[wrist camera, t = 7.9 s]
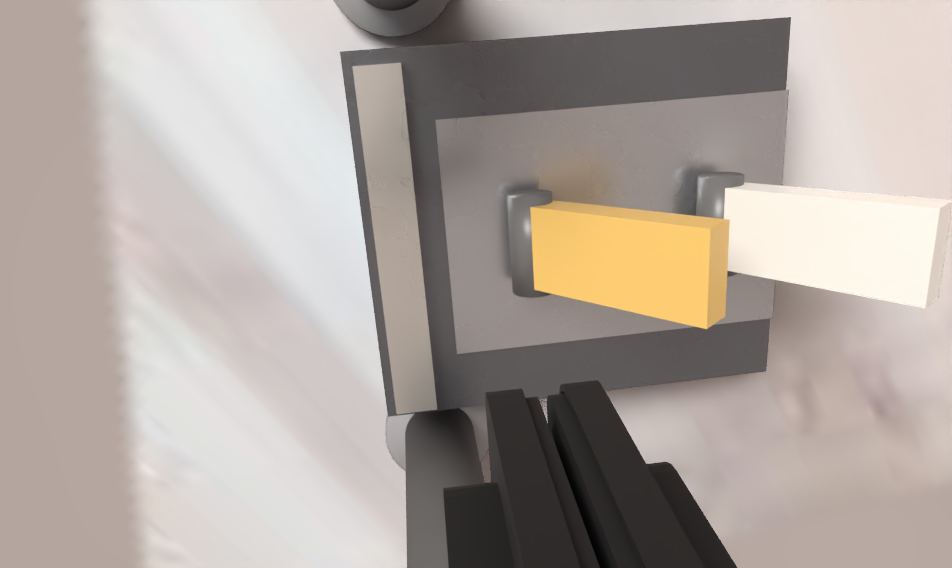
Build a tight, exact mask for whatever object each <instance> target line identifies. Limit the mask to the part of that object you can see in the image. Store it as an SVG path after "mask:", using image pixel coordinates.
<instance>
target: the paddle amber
mask: <svg viewBox="0 0 952 568" xmlns="http://www.w3.org/2000/svg"><path fill="white" fill-rule="evenodd" d="M507 209H508V226H509V242H510V259H511V275H512V292H513V294H515V295H517V296H520V297H526V298H537V297H544V296H548V295H551V294H555V295H560V296H564V297H568V298H573V299H577V300H581V301H586V302H590V303H594V304H599V305H603V306H608V307H612V308H616V309H621V310H625V311H629V312H634V313H638V314H642V315H647V316H651V317H656V318H660V319H664V320H669V321H673V322H677V323H682V324H686V325H690V326H695V327H699V328H704V329H708V328H709V327H711V326H712V325H714V324H715V323H716V322H718V321H719V320H721V319H722V318H724V317H725V311H726V290H727V269H728V247H729V226H730V220H729V219H719V218H710V217H701V216H692V215H683V214H673V213H664V212H655V211H646V210H637V209H628V208H618V207H609V206H600V205H591V204H582V203H573V202H563V201H554V200H552V192H551V191H549V190H540V189H531V190H520V191H515V192H511V193H509V194H507Z"/></svg>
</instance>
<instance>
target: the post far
mask: <svg viewBox="0 0 952 568" xmlns="http://www.w3.org/2000/svg"><path fill="white" fill-rule="evenodd" d="M386 443H387V447H388V450H389V453H390V454H391V456H392V458H393V459H394V461H395V462H396V463H397V464H398V465H399V466H400V467H401V468H402V469H403V470H405V471H406V519H407V568H449V565H448V551H447V537H446V524H445V510H444V495H443V488H449V487H458V486H466V485H475V484H483V483H484V478H483V473H482V468H481V463H480V461H481V460H482V459H483V457H484V456H485V454H486V453H487V451H488V449H489V444H488V431H487V418H486V405H482V406H473V407H465V408H457V409H448V410H440V411H432V412H424V413H415V414H407V415H399V416H390V417H388V415H387V420H386Z"/></svg>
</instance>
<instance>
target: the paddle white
mask: <svg viewBox="0 0 952 568" xmlns="http://www.w3.org/2000/svg"><path fill="white" fill-rule="evenodd" d="M744 176H745V175H744V174H742V173H737V172H709V173H703V174H699V175H698V176H697V201H696V216H701V217H710V218H719V219H729V220H730V226H729V247H728V269H727V277H730V276H734V275H737V274H738V273H742V274H748V275H753V276H758V277H763V278H768V279H774V280H779V281H784V282H789V283H795V284H800V285H805V286H810V287H816V288H821V289H826V290H831V291H837V292H842V293H847V294H852V295H858V296H863V297H868V298H873V299H879V300H884V301H889V302H894V303H899V304H905V305H910V306H915V307H920V308H926V307H927V306H929V305H930V304H931V303H932V302H933V301H935V300H936V299H937V298H938V297H939V291H940V285H941V278H942V272H943V265H944V259H945V252H946V246H947V239H948V233H949V227H950V220H951V214H952V200H944V199H932V198H920V197H909V196H897V195H885V194H874V193H862V192H851V191H839V190H827V189H816V188H804V187H792V186H781V185H769V184H757V183H746V182H744Z"/></svg>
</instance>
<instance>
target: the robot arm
mask: <svg viewBox="0 0 952 568" xmlns="http://www.w3.org/2000/svg"><path fill="white" fill-rule="evenodd" d="M485 405H486V418H487V431H488V444H489V457H490V470H491V483H483V484H475V485H466V486H458V487H449V488H443V495H444V510H445V524H446V537H447V551H448V565H449V568H737V567H736V565H735V563H734V562H733V560H732V559H731V557H730V556H729V554H728V552H727V551H726V549H725V547H724V546H723V544H722V543H721V541H720V539H719V538H718V536H717V535H716V533H715V531H714V530H713V528H712V527H711V525H710V524H709V522H708V520H707V519H706V517H705V516H704V514H703V512H702V511H701V509H700V508H699V506H698V504H697V503H696V501H695V500H694V498H693V496H692V495H691V493H690V492H689V490H688V488H687V487H686V485H685V484H684V482H683V480H682V479H681V477H680V476H679V474H678V472H677V471H676V470H675V468H674V467H673V466H672V465H671V464H670V463H668V462H661V463H653V464H646V463H645V461H644V459H643V458H642V456H641V454H640V452H639V451H638V449H637V447H636V445H635V443H634V442H633V440H632V438H631V436H630V435H629V433H628V431H627V429H626V427H625V426H624V424H623V422H622V420H621V419H620V417H619V415H618V413H617V411H616V410H615V408H614V406H613V404H612V403H611V401H610V399H609V397H608V396H607V394H606V392H605V390H604V388H603V387H602V385H601V383H600V382H599V381H598V380H593V381H584V382H575V383H566V384H561V385H560V390H559V394H555V395H548V397H547V414H548V423H547V421H546V418H545V415H544V412H543V410H542V407H541V404H540V401H539V399H538V397H528V398H525V395H524V392H523V390H522V389H521V388H520V389H511V390H502V391H493V392H485Z"/></svg>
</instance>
